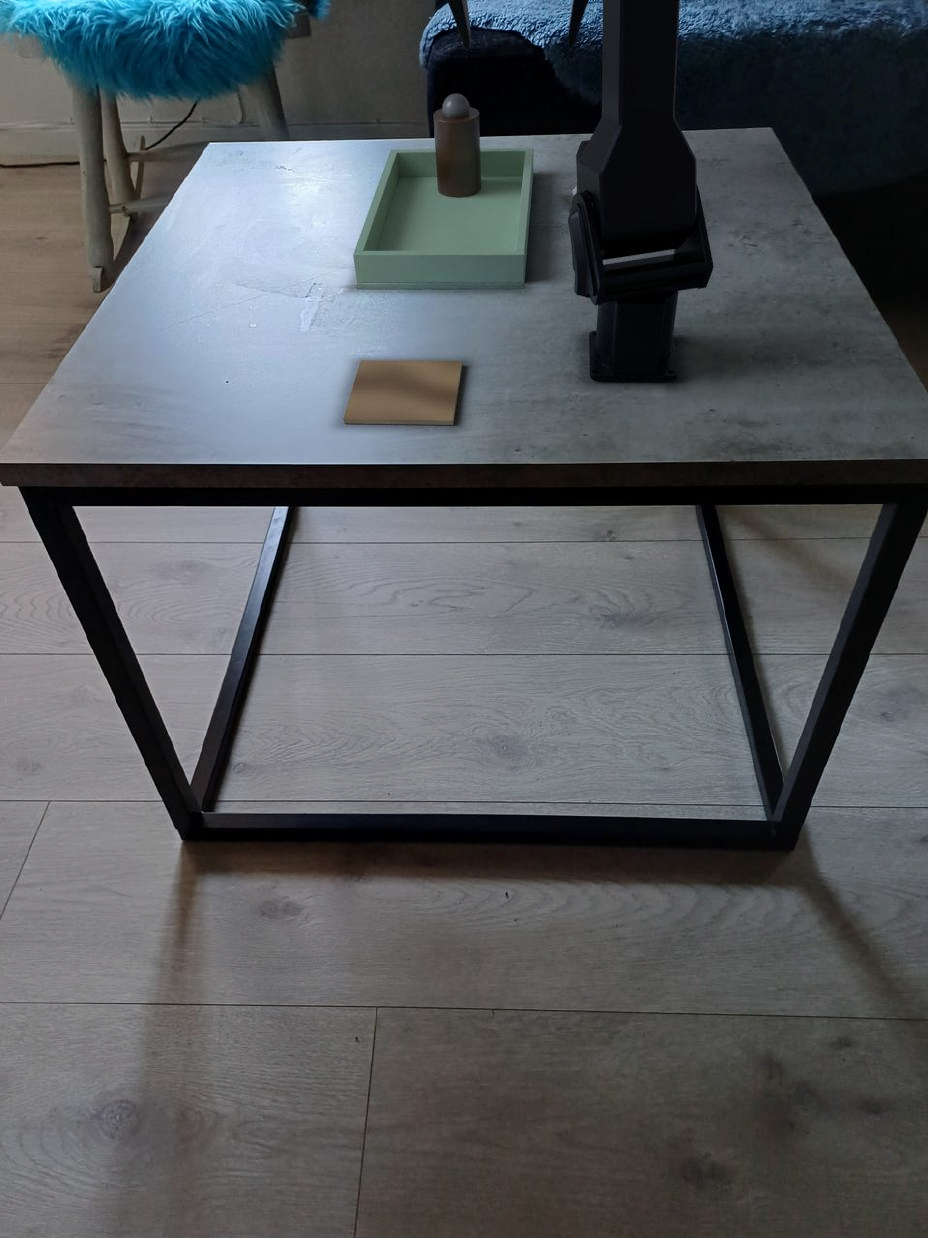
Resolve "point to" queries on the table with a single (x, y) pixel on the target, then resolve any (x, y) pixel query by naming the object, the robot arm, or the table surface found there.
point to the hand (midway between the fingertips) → (519, 47)
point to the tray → (447, 225)
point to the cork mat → (404, 392)
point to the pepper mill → (457, 148)
